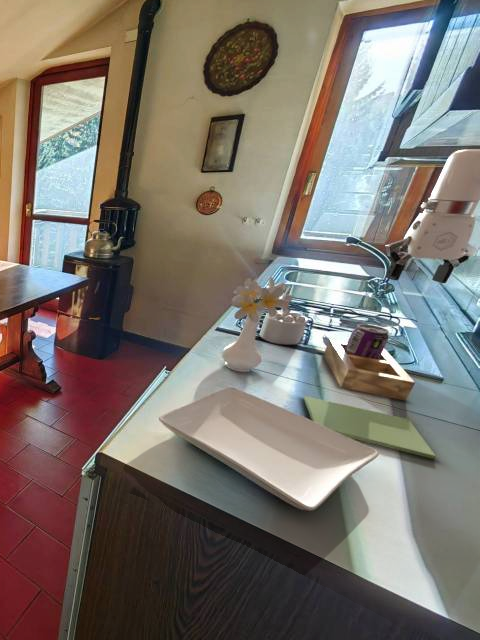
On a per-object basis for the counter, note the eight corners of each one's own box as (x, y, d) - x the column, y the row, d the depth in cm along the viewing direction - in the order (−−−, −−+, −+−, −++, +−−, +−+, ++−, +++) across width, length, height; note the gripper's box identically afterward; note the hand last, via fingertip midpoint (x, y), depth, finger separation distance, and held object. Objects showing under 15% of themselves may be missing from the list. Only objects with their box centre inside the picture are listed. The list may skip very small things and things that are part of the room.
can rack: (377, 364, 111) (384, 348, 109) (405, 400, 93) (415, 382, 91) (323, 354, 116) (329, 339, 114) (340, 387, 99) (348, 369, 97)
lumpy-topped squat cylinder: (304, 337, 128) (313, 313, 125) (291, 347, 121) (300, 322, 117) (267, 328, 136) (275, 304, 132) (253, 337, 128) (261, 312, 125)
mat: (407, 422, 85) (408, 419, 85) (434, 459, 74) (436, 456, 74) (303, 398, 94) (304, 395, 94) (314, 428, 83) (315, 425, 83)
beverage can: (372, 376, 104) (392, 335, 100) (337, 368, 109) (355, 328, 104) (372, 367, 109) (390, 328, 104) (338, 359, 113) (355, 321, 109)
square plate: (152, 431, 82) (156, 415, 80) (226, 397, 94) (230, 383, 93) (304, 526, 60) (313, 507, 59) (374, 466, 72) (383, 449, 71)
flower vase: (205, 373, 105) (231, 284, 95) (218, 351, 118) (241, 270, 108) (264, 389, 98) (298, 294, 88) (270, 363, 111) (300, 278, 101)
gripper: (417, 208, 88) (384, 281, 95) (513, 211, 85) (471, 287, 92) (392, 206, 95) (363, 274, 102) (480, 208, 91) (444, 279, 98)
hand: (414, 280), depth 97 cm, fingers open, 9 cm apart
